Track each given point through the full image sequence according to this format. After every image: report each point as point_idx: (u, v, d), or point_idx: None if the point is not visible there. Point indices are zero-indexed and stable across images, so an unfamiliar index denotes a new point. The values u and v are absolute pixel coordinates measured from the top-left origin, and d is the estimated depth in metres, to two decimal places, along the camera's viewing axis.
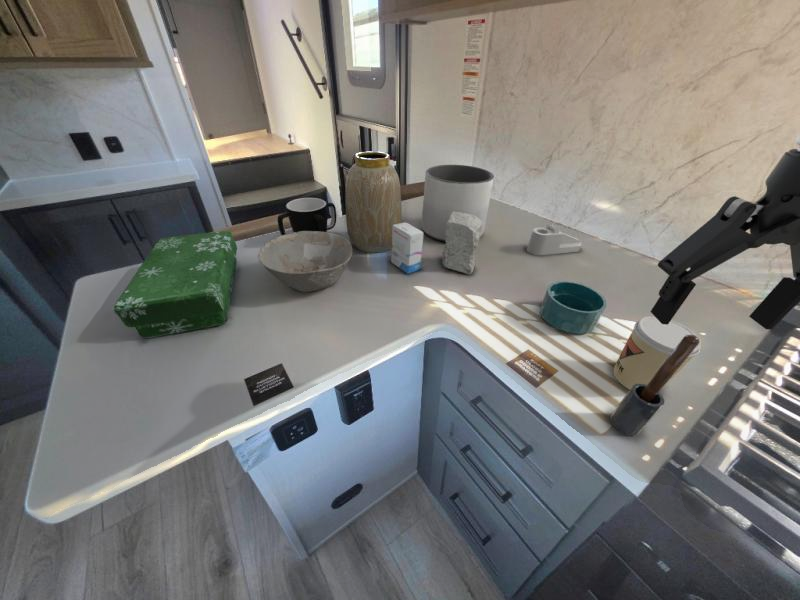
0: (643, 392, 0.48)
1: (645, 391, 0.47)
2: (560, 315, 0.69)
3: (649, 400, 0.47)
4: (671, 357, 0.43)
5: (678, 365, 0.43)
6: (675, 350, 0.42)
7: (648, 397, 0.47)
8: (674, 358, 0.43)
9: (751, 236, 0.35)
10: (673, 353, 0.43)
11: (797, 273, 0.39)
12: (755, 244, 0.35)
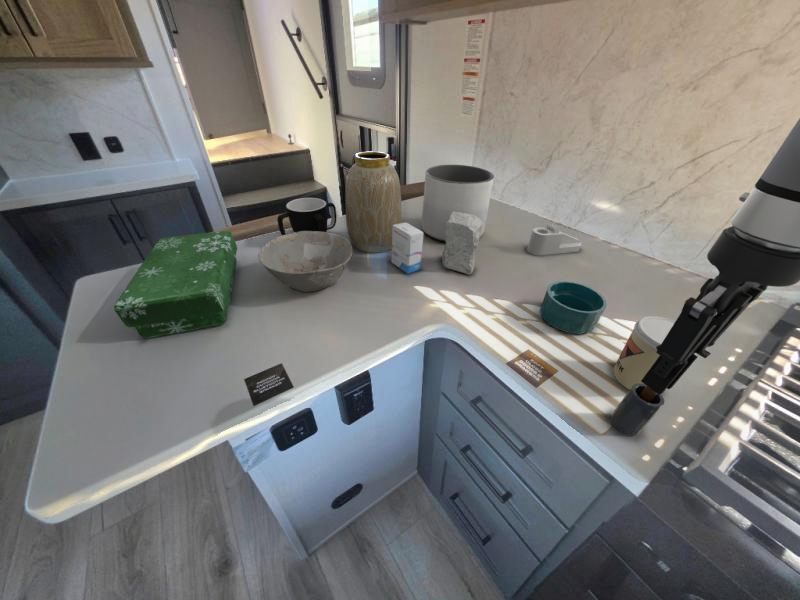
0: (643, 392, 0.48)
1: (645, 391, 0.47)
2: (560, 315, 0.69)
3: (649, 400, 0.47)
4: None
5: None
6: None
7: (648, 397, 0.47)
8: None
9: (715, 319, 0.37)
10: None
11: None
12: (723, 323, 0.36)
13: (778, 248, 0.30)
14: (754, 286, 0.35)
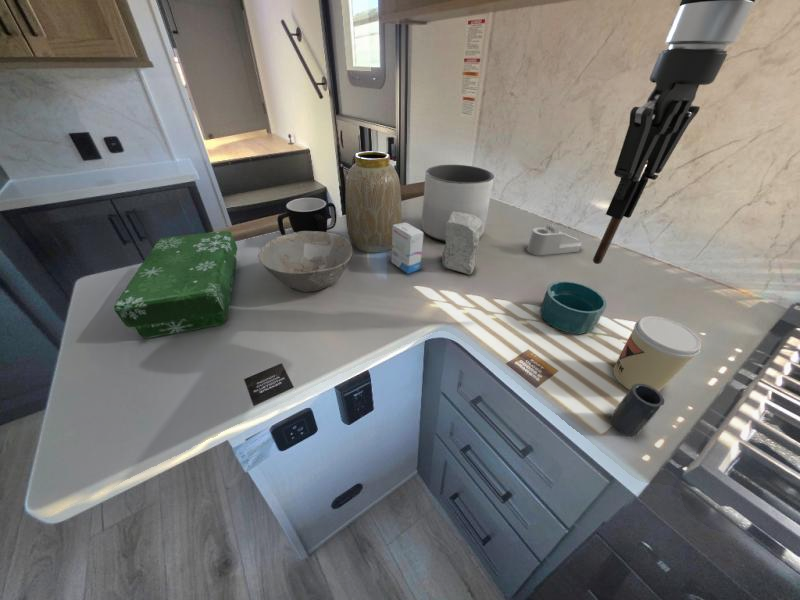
0: (608, 226, 0.58)
1: (610, 224, 0.58)
2: (560, 315, 0.69)
3: (613, 231, 0.58)
4: None
5: None
6: None
7: (611, 228, 0.57)
8: None
9: (656, 129, 0.47)
10: None
11: None
12: (662, 132, 0.47)
13: (694, 47, 0.41)
14: (685, 99, 0.46)
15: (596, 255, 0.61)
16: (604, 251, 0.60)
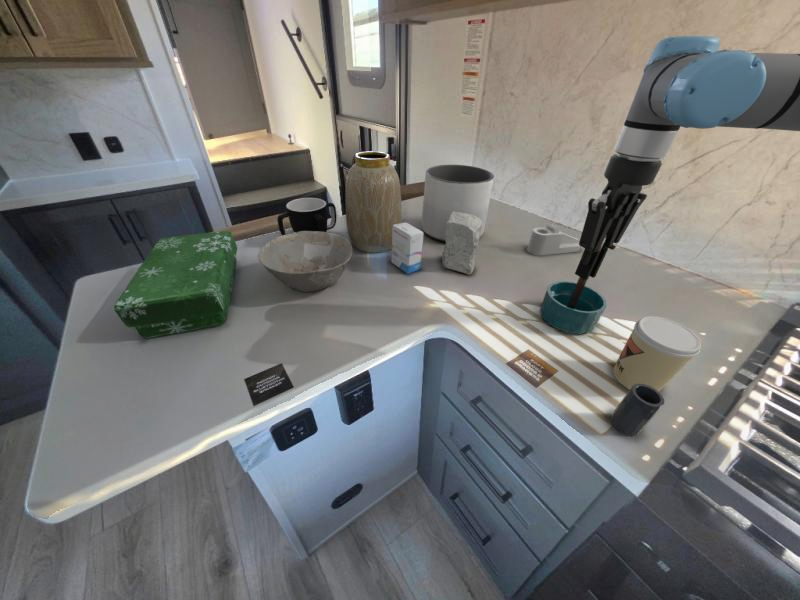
0: (577, 283, 0.68)
1: (578, 281, 0.68)
2: (560, 315, 0.69)
3: (581, 288, 0.68)
4: None
5: None
6: None
7: (580, 285, 0.68)
8: None
9: (610, 214, 0.57)
10: None
11: None
12: (615, 217, 0.57)
13: (635, 159, 0.51)
14: (632, 192, 0.56)
15: (568, 305, 0.72)
16: (574, 302, 0.70)
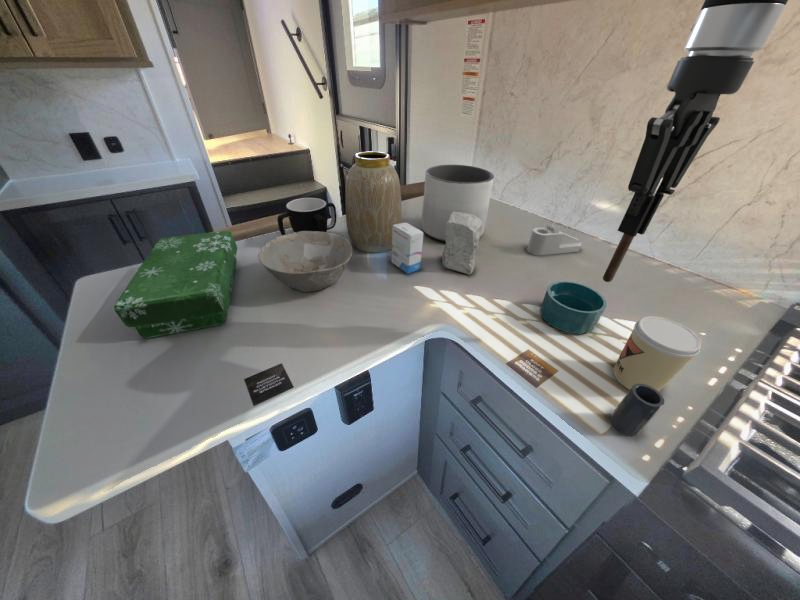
0: (620, 242, 0.54)
1: (621, 240, 0.54)
2: (560, 315, 0.69)
3: (625, 248, 0.54)
4: None
5: None
6: None
7: (624, 245, 0.54)
8: None
9: (674, 142, 0.43)
10: None
11: None
12: (681, 145, 0.43)
13: (718, 54, 0.37)
14: (705, 109, 0.42)
15: (606, 273, 0.58)
16: (615, 268, 0.56)
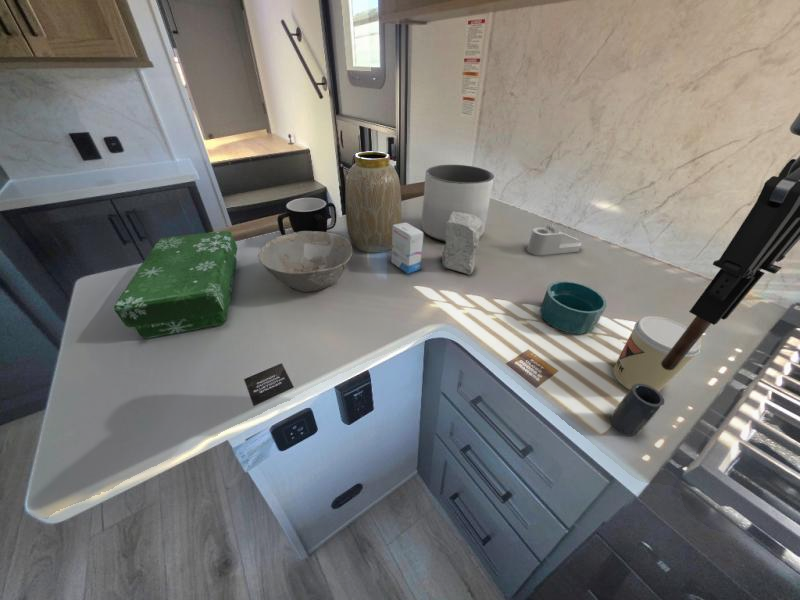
0: (691, 326, 0.40)
1: (694, 324, 0.40)
2: (560, 315, 0.69)
3: (698, 335, 0.40)
4: None
5: None
6: None
7: (697, 330, 0.40)
8: None
9: (799, 209, 0.29)
10: None
11: None
12: None
13: None
14: None
15: (668, 360, 0.44)
16: (680, 357, 0.42)
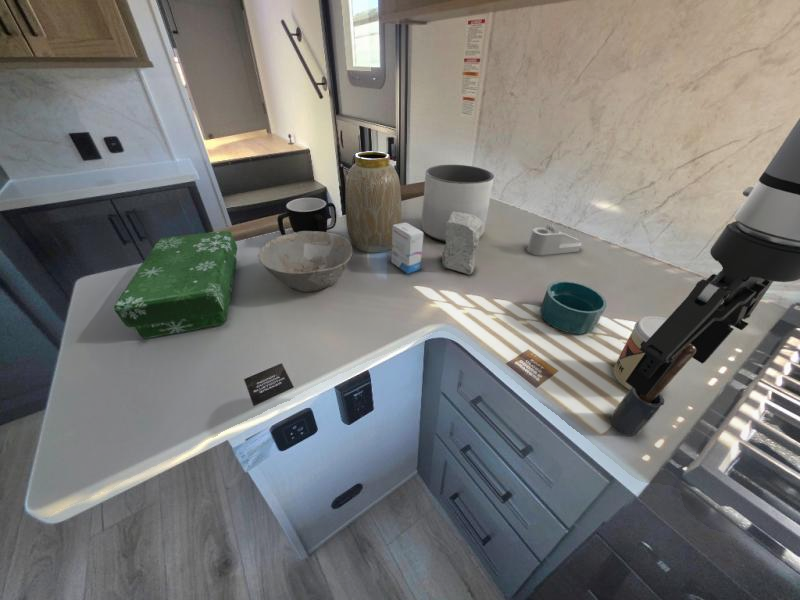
0: (641, 396, 0.47)
1: (643, 395, 0.47)
2: (560, 315, 0.69)
3: None
4: None
5: (675, 372, 0.42)
6: None
7: (646, 400, 0.47)
8: (671, 366, 0.42)
9: (716, 311, 0.35)
10: None
11: None
12: (721, 319, 0.35)
13: (782, 243, 0.30)
14: None
15: None
16: None
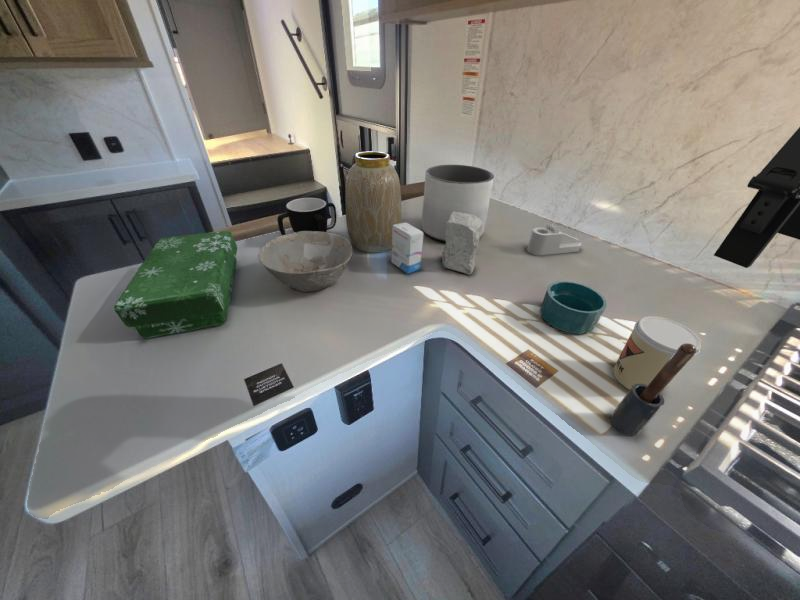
0: (641, 396, 0.47)
1: (643, 395, 0.47)
2: (560, 315, 0.69)
3: None
4: (668, 365, 0.42)
5: (675, 372, 0.42)
6: (672, 358, 0.41)
7: (646, 400, 0.47)
8: (671, 366, 0.42)
9: None
10: (670, 361, 0.42)
11: None
12: None
13: None
14: None
15: None
16: None
